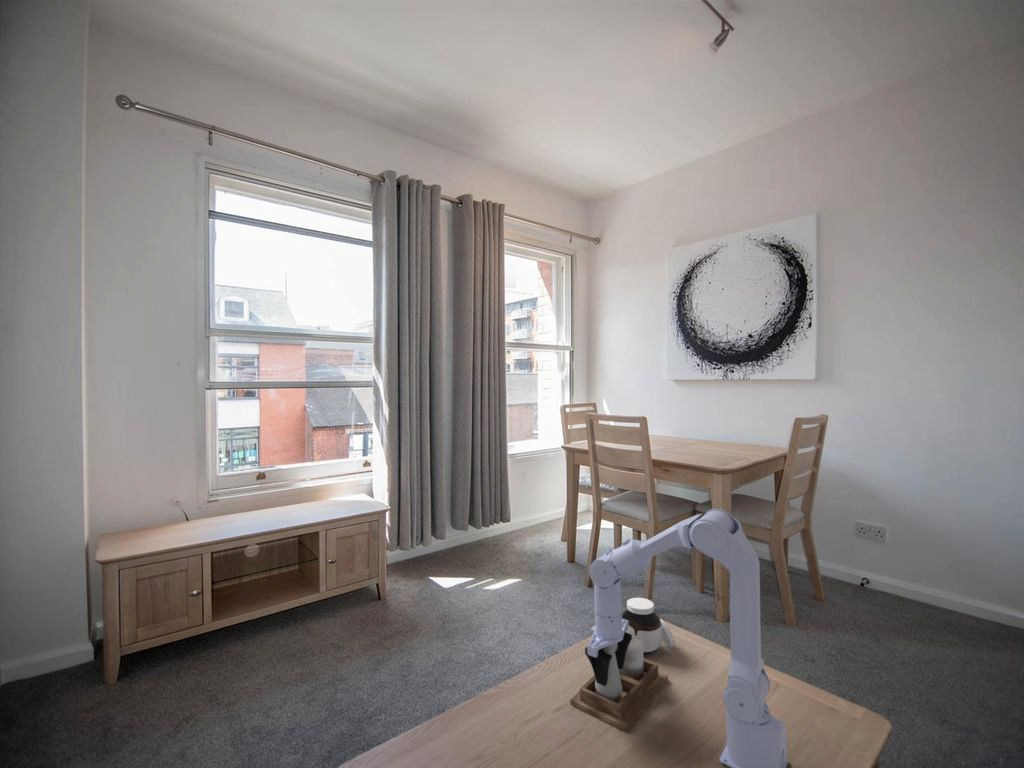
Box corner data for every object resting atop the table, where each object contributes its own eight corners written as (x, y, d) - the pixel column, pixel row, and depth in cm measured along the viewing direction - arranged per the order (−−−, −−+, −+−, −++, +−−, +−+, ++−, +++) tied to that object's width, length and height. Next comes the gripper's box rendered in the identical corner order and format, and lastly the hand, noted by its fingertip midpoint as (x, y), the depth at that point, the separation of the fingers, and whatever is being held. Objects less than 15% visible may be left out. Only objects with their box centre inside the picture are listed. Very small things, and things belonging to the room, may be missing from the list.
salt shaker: (623, 691, 103) (621, 632, 103) (622, 709, 97) (620, 646, 97) (596, 688, 104) (594, 629, 104) (594, 705, 99) (592, 643, 99)
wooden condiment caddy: (668, 680, 108) (667, 641, 108) (625, 732, 92) (624, 686, 92) (617, 660, 116) (616, 623, 116) (570, 704, 100) (569, 662, 101)
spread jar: (616, 646, 123) (615, 601, 123) (641, 630, 130) (640, 588, 130) (657, 665, 114) (655, 617, 114) (681, 648, 121) (679, 602, 121)
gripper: (608, 595, 109) (609, 653, 109) (574, 619, 98) (575, 684, 98) (636, 603, 104) (638, 664, 104) (603, 629, 93) (605, 698, 93)
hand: (609, 675), depth 101 cm, fingers open, 7 cm apart
